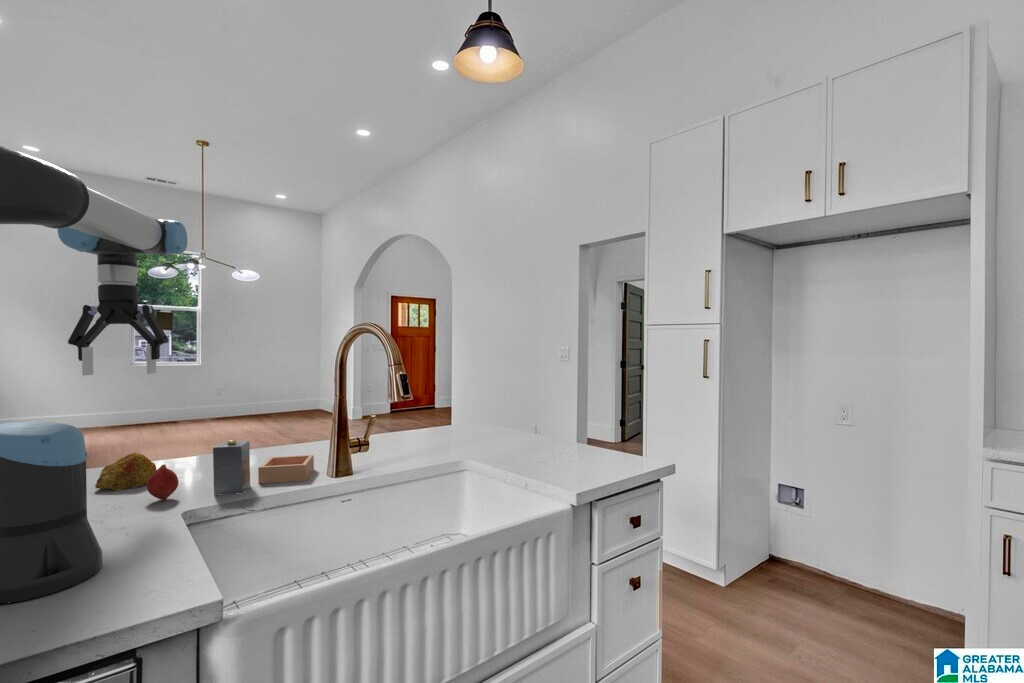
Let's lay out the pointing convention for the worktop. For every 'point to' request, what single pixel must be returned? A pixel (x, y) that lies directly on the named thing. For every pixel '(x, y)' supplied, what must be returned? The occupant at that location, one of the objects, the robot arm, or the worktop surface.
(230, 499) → the worktop surface
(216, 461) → the block
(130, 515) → the worktop surface
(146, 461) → the rock
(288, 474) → the tray
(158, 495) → the onion
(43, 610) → the worktop surface
